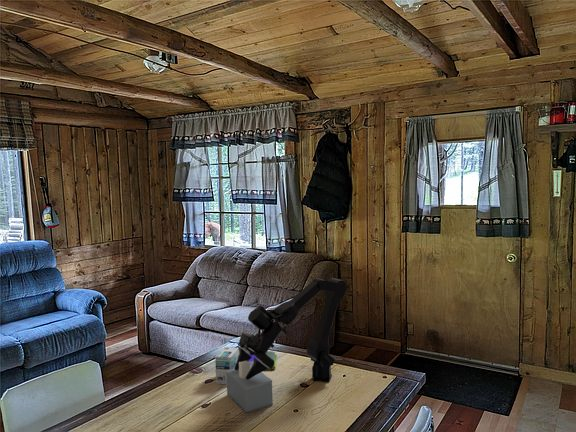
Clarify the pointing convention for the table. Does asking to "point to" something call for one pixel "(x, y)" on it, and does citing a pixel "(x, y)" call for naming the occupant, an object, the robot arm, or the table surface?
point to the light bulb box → (225, 363)
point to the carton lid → (242, 373)
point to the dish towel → (270, 354)
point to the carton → (249, 396)
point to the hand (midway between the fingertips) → (240, 374)
